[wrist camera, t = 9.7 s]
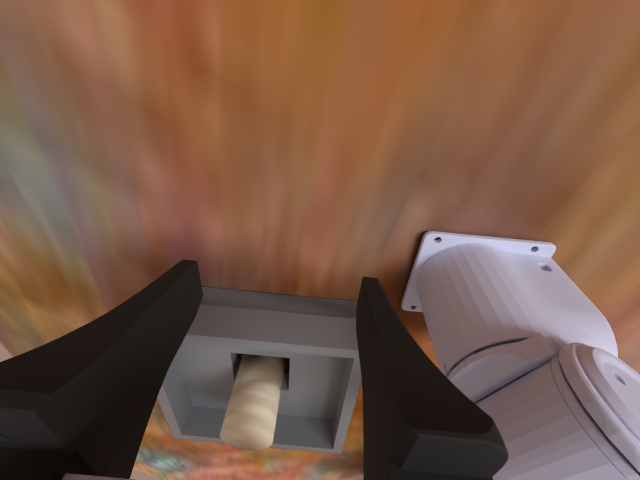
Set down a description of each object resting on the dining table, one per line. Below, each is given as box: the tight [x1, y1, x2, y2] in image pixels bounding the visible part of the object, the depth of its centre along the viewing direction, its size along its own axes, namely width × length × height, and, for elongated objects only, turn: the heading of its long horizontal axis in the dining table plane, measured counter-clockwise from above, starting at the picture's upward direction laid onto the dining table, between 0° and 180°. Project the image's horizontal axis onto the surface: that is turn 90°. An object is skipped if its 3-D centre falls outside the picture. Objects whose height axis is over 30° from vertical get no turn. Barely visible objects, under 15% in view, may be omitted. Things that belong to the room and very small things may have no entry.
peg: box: [220, 354, 286, 451], centre depth 29 cm, size 4×4×8 cm
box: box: [157, 287, 362, 454], centre depth 30 cm, size 18×18×5 cm
